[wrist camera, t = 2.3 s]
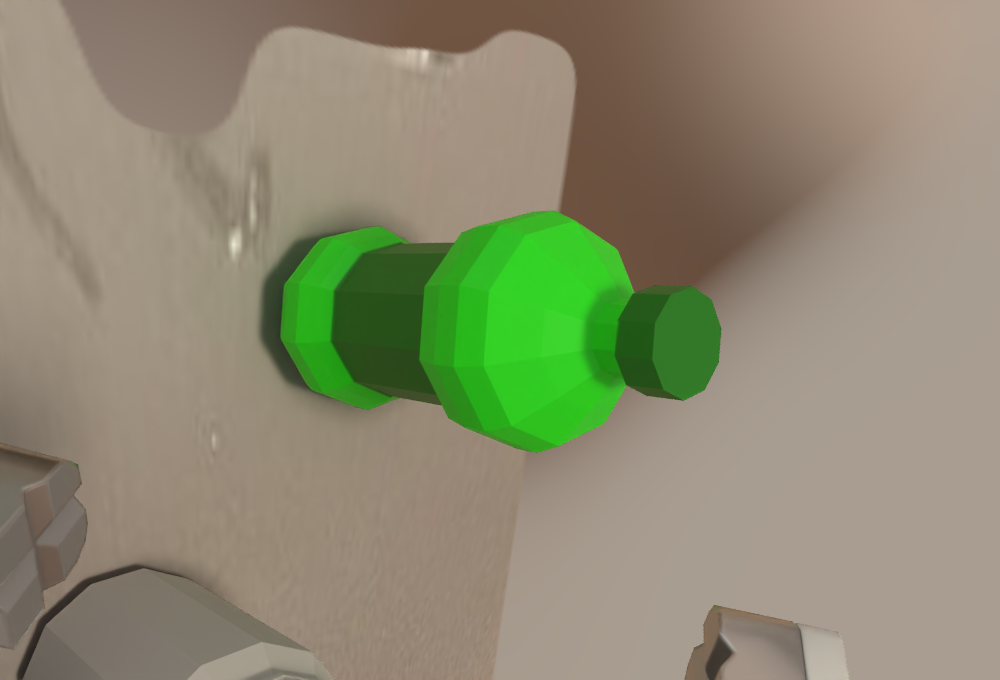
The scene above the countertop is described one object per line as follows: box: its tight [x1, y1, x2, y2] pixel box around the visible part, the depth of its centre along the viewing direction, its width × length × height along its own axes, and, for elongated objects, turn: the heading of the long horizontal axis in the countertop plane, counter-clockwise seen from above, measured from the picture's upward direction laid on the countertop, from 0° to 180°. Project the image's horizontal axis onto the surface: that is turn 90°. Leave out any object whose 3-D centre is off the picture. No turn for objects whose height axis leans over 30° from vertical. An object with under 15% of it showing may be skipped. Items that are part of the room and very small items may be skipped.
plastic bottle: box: [280, 211, 721, 453], centre depth 45 cm, size 10×10×25 cm
